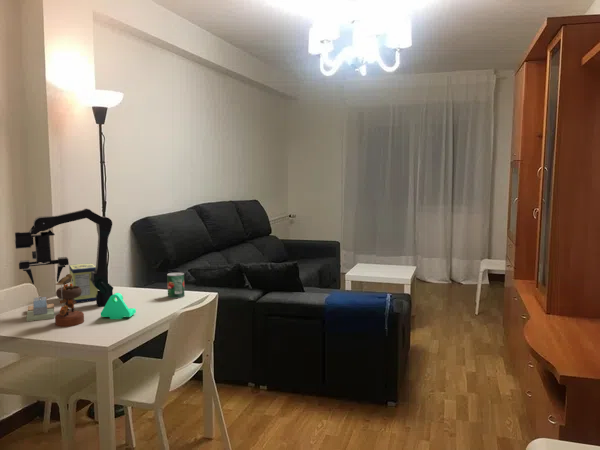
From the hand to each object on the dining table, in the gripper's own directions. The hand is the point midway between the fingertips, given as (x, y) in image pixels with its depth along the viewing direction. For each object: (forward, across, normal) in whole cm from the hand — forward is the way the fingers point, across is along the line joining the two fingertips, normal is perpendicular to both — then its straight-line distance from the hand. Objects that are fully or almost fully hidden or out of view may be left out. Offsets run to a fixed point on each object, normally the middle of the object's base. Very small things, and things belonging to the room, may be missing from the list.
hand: (45, 282), depth 223 cm
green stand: (+13, +3, +7) cm, 15 cm away
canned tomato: (+14, -56, -2) cm, 57 cm away
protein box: (+13, -16, -19) cm, 28 cm away
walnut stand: (+13, +2, -3) cm, 13 cm away
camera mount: (+14, -26, +22) cm, 37 cm away
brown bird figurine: (+13, -8, +21) cm, 26 cm away
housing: (+11, +3, +7) cm, 13 cm away
